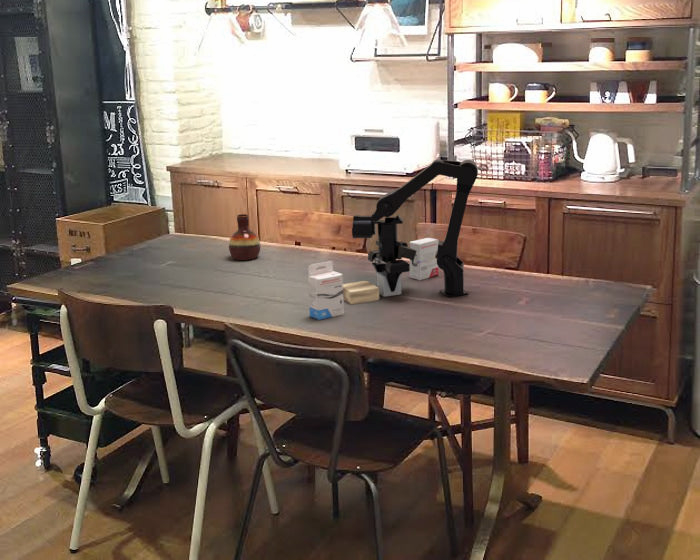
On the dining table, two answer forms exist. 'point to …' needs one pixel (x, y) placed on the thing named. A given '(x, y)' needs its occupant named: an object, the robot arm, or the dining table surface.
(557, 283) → the dining table surface
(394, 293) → the gray paneled cube
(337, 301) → the ink box
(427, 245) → the ink box
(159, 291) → the dining table surface
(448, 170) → the robot arm
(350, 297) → the beige square block
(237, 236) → the vase
